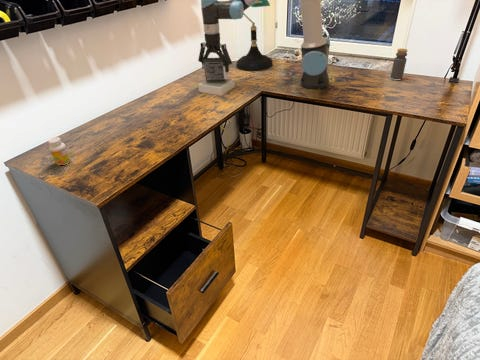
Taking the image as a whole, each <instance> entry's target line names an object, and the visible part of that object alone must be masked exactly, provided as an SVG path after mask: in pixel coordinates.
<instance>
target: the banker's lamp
mask: <svg viewBox="0 0 480 360" xmlns="http://www.w3.org/2000/svg"><path fill="white" fill-rule="evenodd" d="M270 6H271V3H270V2H269V1H268V0H258V1H257V2H255V3H254V4H253V5H251V6H250V7H251V8H261V7H270ZM243 17H246V19H247V20H248V21H249V22H250V23H251V27H250V42H251V43H250V47H249V50H248V53H247V54H246V55H244V56H241V57H240V58H239V59H238V60H236V63H235V67H236V69H238V70H241V71H244V72H261V71H266V70H268V68H269V69H270V68H271V67H273V66H274V62H273V59H272V57H269V56H268V55H266V54H262V53H261V52H260V49H259V47H258V44H257V41H258V39H257V36H258V35H257V26H256V25H255V24H256V23H255V22H254V21H252V20H251V18H249V17H248V15H246V14H245V12H244V13H243Z"/></svg>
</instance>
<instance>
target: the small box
mask: <svg viewBox="0 0 480 360" xmlns="http://www.w3.org/2000/svg"><path fill="white" fill-rule="evenodd" d="M203 62H204V69H205V76H204V77H205V80H206V81H225V80H226V79H224V70H223V66H224V64H223V62H222V61H221V59H220V58H219V57H208V58H206V59H205V60H204V61H203ZM204 69H203V70H204Z"/></svg>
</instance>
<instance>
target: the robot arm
mask: <svg viewBox="0 0 480 360" xmlns="http://www.w3.org/2000/svg"><path fill="white" fill-rule="evenodd" d="M257 1H258V0H225V1H224V0H223V1H219V0H200V3H201V4H200V5H201V6H200V7H201V14H202V15H201V16H202V24H203V32H204V41H203V42H201V43H200V48H199V54H198V59H197V61H198V62H199V63H201V68H202V69H203V74H204V77H205V69H204V62H203V61H204V60H205V59H206V58H209V56H210V54H211V53H213V54H216V55H217V56H218V58H220V59H221V61H222V62H223V64H224V66H223V70H224V79H227V78H229V71H230V66H231V65H232V64H233V62H232V59H231V57H230V54H229V52H228V50H227V45H226V43H224V44H221V33H220V21H219V20H242V18H243V17H244V15H243V13H244V14H245V12H244V11H246V10H247V9H248V8H250V7H251V5H253V4H254V3H255V2H257ZM299 3H300V4H299V5H300V13H301V25H302V34H303V36H302V38H303V42H302V44H300V49H301V51H300V52H301V61H300V63H301V64H300V65H301V68H302V71H303V72H302V74H301V77H300V80H299V85H300V86H301V87H303V88H305V89H309V90H319V88H321V89H325V88H327V87H329V85H330V77H329V73H328V64H329V56H330V55H329V54H330V46H331V41H330V38H327V37H324V32H323V30H324V29H323V19H322V17H323V15H322V4H321V3H322V1H321V0H299ZM324 87H325V88H324Z"/></svg>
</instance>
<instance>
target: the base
mask: <svg viewBox="0 0 480 360" xmlns="http://www.w3.org/2000/svg"><path fill="white" fill-rule="evenodd" d="M197 86H198V92H199V93H204V94H209V95H215V96H223V95H225V94H226V93H227V92H229V91H231V90H232V89H233V88H235V87H236V81H235V78H229V77H228V78H227V79H226V80H225V81H206V79H205V80H203V81H202V82H200V83H198V84H197Z"/></svg>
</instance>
